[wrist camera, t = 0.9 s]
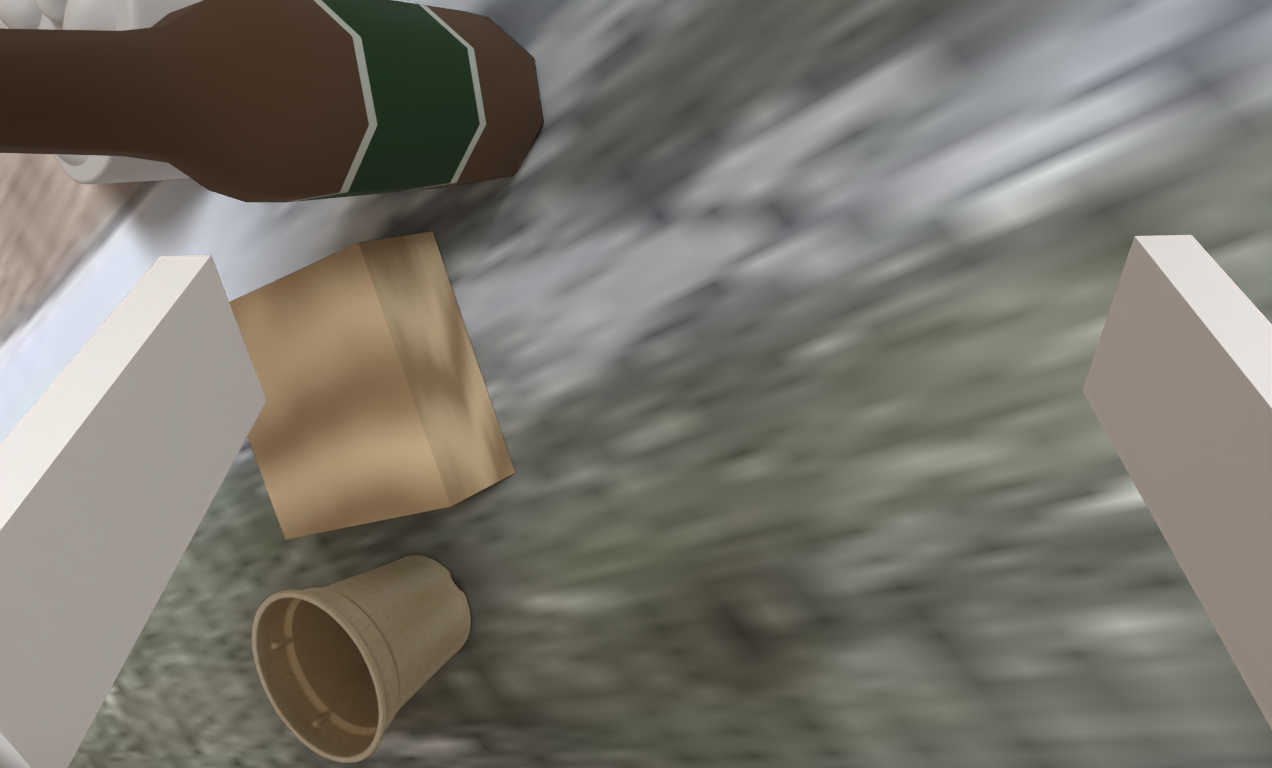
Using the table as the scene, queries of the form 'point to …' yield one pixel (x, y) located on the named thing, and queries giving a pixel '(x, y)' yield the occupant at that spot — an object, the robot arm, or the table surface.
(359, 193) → the beer bottle
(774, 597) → the table surface
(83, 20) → the lumpy-topped squat cylinder
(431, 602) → the flower pot
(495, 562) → the table surface
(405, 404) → the olive wood block
